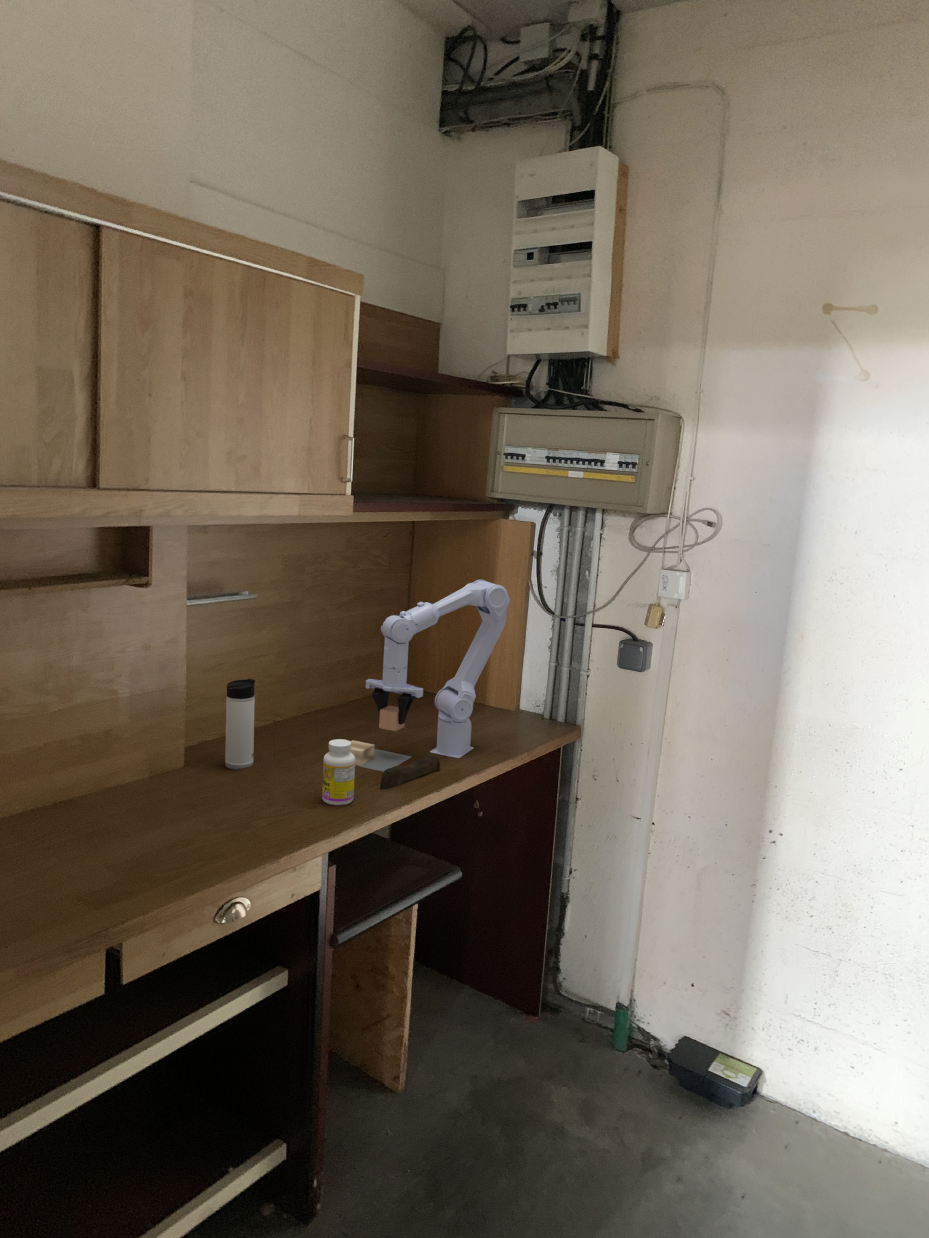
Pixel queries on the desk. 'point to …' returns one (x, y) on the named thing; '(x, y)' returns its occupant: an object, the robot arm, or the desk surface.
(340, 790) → the supplement bottle
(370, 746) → the beech block
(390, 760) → the rubber mat
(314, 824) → the desk surface
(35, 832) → the desk surface
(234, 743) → the travel mug
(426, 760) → the hand tool
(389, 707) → the terracotta cube
